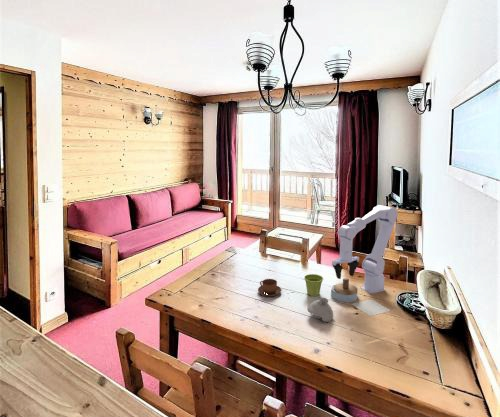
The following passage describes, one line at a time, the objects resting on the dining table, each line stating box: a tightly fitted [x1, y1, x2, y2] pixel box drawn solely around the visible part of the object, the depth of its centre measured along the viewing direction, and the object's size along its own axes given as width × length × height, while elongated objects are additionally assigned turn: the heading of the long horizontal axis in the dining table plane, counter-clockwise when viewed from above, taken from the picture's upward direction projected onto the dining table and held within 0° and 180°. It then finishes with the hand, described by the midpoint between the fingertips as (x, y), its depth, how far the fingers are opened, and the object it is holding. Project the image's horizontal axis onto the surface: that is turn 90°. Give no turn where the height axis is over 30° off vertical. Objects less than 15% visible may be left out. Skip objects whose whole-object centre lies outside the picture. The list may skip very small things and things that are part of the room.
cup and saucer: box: [257, 278, 282, 297], centre depth 163 cm, size 12×12×6 cm
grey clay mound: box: [306, 297, 334, 323], centre depth 139 cm, size 12×12×11 cm
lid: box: [334, 278, 358, 295], centre depth 156 cm, size 11×11×6 cm
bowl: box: [330, 284, 358, 303], centre depth 157 cm, size 12×12×4 cm
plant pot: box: [303, 273, 324, 297], centre depth 161 cm, size 9×9×9 cm
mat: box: [351, 299, 392, 317], centre depth 146 cm, size 12×12×1 cm
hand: (344, 276), depth 156 cm, fingers open, 7 cm apart
